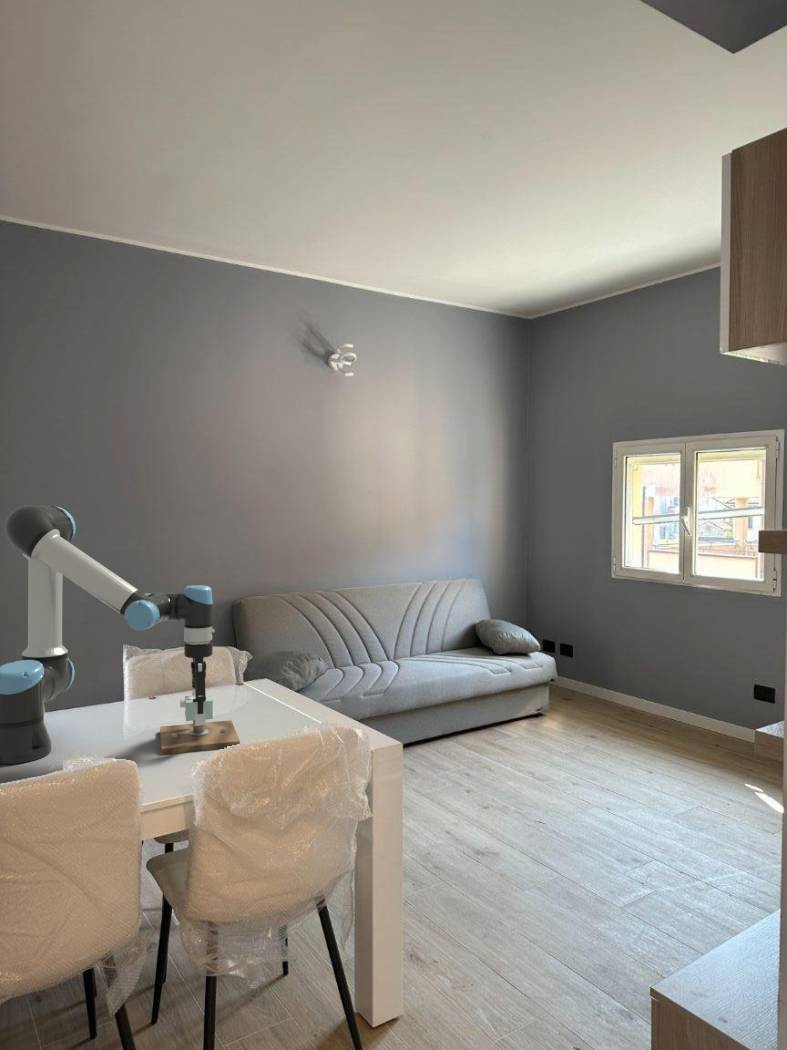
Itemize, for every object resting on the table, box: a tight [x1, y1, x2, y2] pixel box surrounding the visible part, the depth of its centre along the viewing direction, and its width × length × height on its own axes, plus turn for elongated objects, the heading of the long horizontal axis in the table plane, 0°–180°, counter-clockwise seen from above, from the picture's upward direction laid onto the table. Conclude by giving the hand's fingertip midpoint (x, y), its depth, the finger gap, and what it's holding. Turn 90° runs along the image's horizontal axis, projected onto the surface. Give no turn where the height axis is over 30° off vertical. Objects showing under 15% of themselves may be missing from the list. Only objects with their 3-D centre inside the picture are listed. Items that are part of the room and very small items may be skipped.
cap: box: [179, 694, 214, 722], centre depth 201 cm, size 8×7×5 cm
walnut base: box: [159, 719, 241, 755], centre depth 201 cm, size 20×20×6 cm
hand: (198, 718), depth 201 cm, fingers open, 13 cm apart
